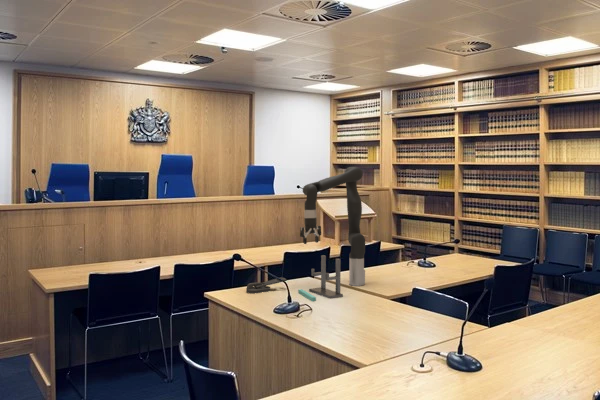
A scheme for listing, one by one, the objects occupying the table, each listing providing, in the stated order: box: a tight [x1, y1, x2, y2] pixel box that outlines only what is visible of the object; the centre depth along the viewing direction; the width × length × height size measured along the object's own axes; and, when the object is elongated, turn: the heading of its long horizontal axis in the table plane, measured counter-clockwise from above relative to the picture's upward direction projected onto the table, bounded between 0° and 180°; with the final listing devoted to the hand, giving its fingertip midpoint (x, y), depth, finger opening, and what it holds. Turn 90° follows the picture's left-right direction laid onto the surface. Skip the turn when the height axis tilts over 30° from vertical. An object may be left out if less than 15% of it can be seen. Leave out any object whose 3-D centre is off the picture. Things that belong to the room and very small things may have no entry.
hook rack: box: [308, 254, 344, 300], centre depth 313 cm, size 9×22×22 cm, turn 32°
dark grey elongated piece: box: [245, 276, 288, 294], centre depth 323 cm, size 9×7×25 cm
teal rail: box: [298, 288, 317, 302], centre depth 307 cm, size 2×22×2 cm, turn 20°
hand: (310, 243), depth 327 cm, fingers open, 8 cm apart
